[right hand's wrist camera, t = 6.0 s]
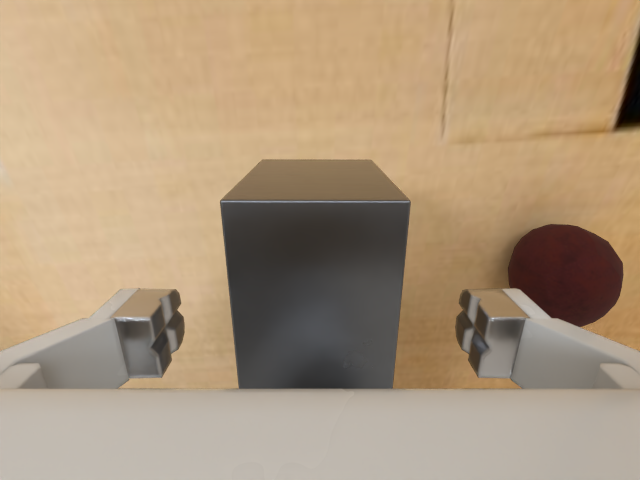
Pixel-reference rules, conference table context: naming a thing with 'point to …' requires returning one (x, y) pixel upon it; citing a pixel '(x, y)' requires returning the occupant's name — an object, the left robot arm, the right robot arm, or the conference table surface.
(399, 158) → the conference table surface
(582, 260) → the potato
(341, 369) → the bar
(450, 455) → the right robot arm
